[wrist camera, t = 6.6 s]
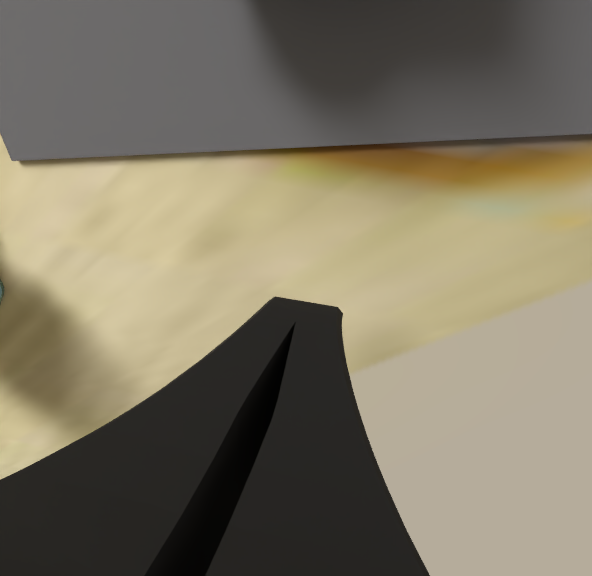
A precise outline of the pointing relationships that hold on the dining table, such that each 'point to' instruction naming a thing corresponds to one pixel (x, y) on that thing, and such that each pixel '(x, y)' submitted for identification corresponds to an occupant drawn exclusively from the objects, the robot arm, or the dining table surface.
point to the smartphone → (1, 291)
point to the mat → (287, 73)
